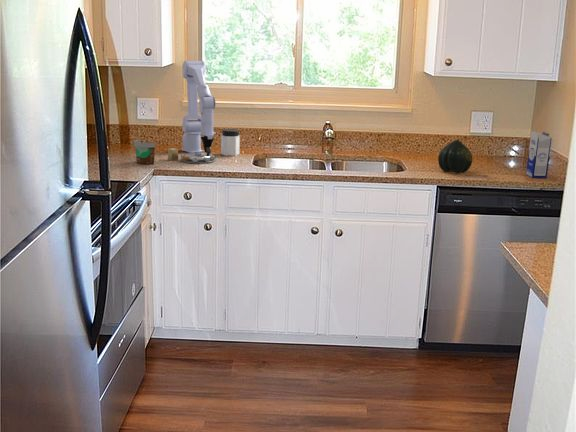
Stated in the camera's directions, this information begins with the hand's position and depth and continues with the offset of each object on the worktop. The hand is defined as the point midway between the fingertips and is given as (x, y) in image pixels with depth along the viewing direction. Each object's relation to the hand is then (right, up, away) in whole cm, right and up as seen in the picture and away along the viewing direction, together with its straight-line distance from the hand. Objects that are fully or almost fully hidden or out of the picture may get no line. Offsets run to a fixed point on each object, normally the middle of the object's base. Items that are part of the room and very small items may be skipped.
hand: (207, 152), depth 306 cm
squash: (+113, -10, -8) cm, 114 cm away
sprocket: (-4, -4, -2) cm, 6 cm away
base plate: (-4, -4, -2) cm, 6 cm away
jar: (+9, 0, +16) cm, 18 cm away
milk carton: (+149, -12, -13) cm, 150 cm away
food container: (-28, -6, -12) cm, 31 cm away
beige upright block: (-16, -4, -2) cm, 16 cm away
